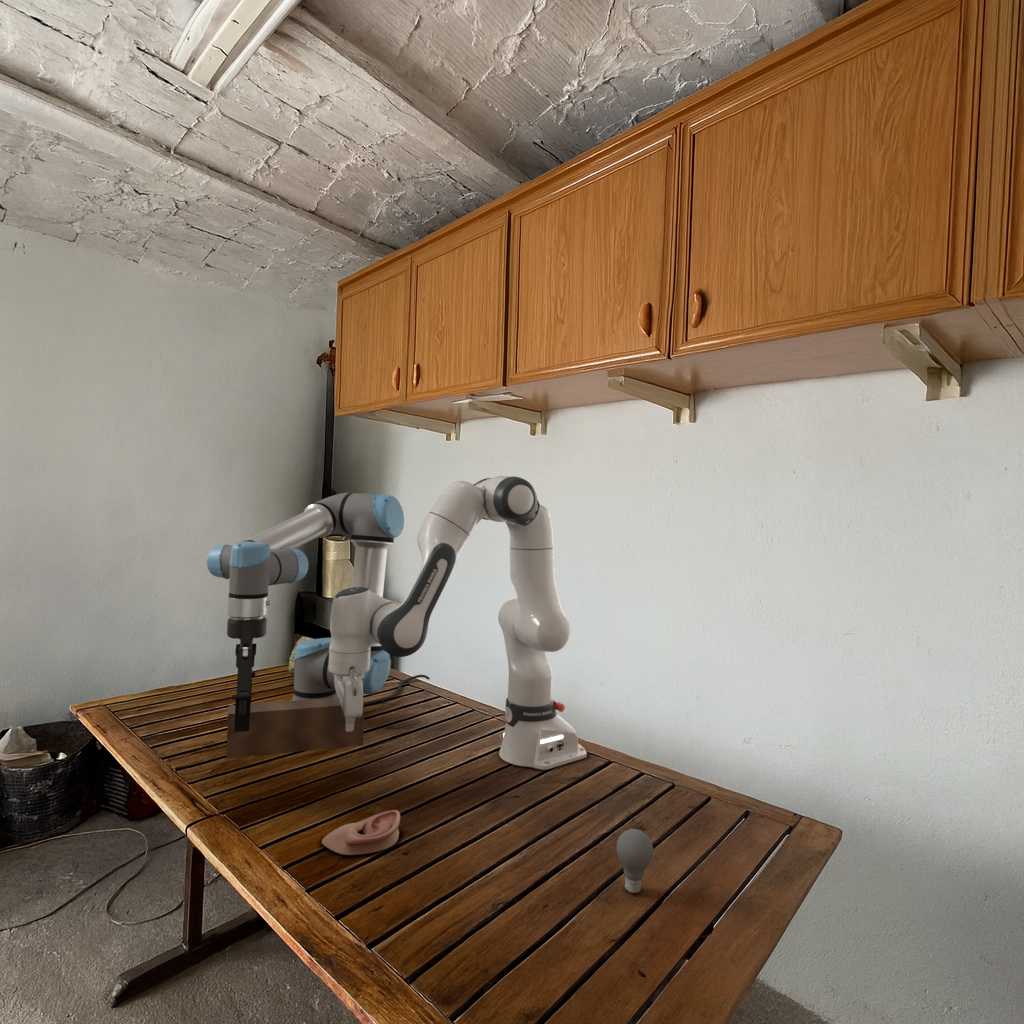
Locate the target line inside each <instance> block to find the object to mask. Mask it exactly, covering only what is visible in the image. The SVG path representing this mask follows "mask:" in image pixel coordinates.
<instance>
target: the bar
mask: <svg viewBox="0 0 1024 1024" xmlns="http://www.w3.org/2000/svg"><path fill="white" fill-rule="evenodd" d="M364 702H365V701H363V713H362V716H361V717H358V718H355V722H354V730H353V731H350V732H347V731H346V730H345V716H344V713H343V710H342V707H341V704H340V701H339V698H324V699H311V700H297V701H292V700H286V701H285V700H283V701H273V702H272V701H271V702H258V703H256V702H255V703H251V704H250V724H249V731H242V732H234V726H235V704H232V705H229V706H228V711H227V731H226V760H229V759H238V758H239V759H240V758H247V757H248V758H249V757H258V756H267V755H268V756H269V755H277V754H287V753H298V752H307V751H316V750H317V751H318V750H327V749H337V748H347V747H348V748H349V747H356V746H363V745H364V729H365V728H364V727H365V725H364V724H365V705H364Z"/></svg>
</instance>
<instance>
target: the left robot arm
mask: <svg viewBox="0 0 1024 1024" xmlns="http://www.w3.org/2000/svg"><path fill="white" fill-rule="evenodd" d="M404 514H405V513H404V510H403V507H402V505H401V503H400V501H399V500H398V499H397V498H396V497H395V496H393V495H390V494H383V493H360V492H357V493H356V492H342V493H338V494H333V495H331V496H328V497H325V498H323V499H320V500H317V501H315V502H313V503H311V504H309V505H307V506H306V507H305V509H304V510H303V512H301V513H299V514H297V515H295V516H293V517H291V518H289V519H286V520H284V521H281V522H280V523H278V524H276V525H274V526H271V527H270V528H268V529H265V530H263V531H261V532H259V533H257V534H255V535H252V536H251V537H248V538H247V539H244V540H242V541H238V542H235V543H234V544H232V545H230V544H218V545H216V546H214V547H212V548H211V550H210V551H209V552H208V555H207V558H206V567H207V569H208V572H209V574H211V576H214V577H216V578H220V579H221V578H222V579H225V580H229V584H228V585H229V586H228V587H229V588H228V596H227V616H228V617H229V618H228V619H227V622H226V623H227V624H226V636H227V637H228V638H230V639H236V640H237V639H238V640H239V643H235V652H234V653H235V655H234V656H235V667H236V669H237V676H236V677H237V678H236V693H235V694H232V696H231V700H232V701H235V704H234V705H235V726H234V732H242V731H249V724H250V704H252V687H253V678H256V672H255V671H254V672H253V668H254V666H255V656H256V655H257V643H254V639H260V638H263V637H265V636H266V635H267V627H268V624H267V623H268V619H267V617H265V616H267V613H268V606H270V605H271V603H272V602H271V600H268V596H269V586H277V585H282V584H292V583H293V584H294V583H295V582H299V581H301V580H303V579H304V578H305V577H306V575H307V573H308V571H309V560H308V557H307V556H306V554H305V553H304V552H303V551H302V550H300V549H298V548H300V547H302V546H303V545H305V544H307V543H309V542H311V541H312V540H314V539H316V538H320V539H321V538H322V539H323V538H326V537H328V536H330V535H335V534H336V535H337V534H339V535H340V534H342V535H350V542H351V543H352V544H353V546H354V547H355V548H354V549H355V551H354V559H353V560H354V561H353V571H352V580H351V582H352V583H351V588H354V587H365V588H368V589H369V590H370V591H371V592H373V593H375V594H376V595H378V596H380V597H383V598H384V590H385V589H384V588H385V579H386V578H385V577H386V567H387V556H388V550H389V549H390V548H391V547H392V546H393V545H394V543H395V539H396V538H398V537H400V536H401V534H402V531H403V530H404V527H405V515H404ZM312 639H313V640H308V641H304V642H301V643H300V644H298V645H297V647H296V652H295V658H294V660H295V665H294V677H293V695H292V696H293V697H292V699H291V701H297V700H311V699H324V698H338V696H337V693H336V690H335V683H334V673H331V672H329V670H328V667H329V646H330V643H331V637H321V638H312ZM391 666H392V659H391V655H390V654H389V653H387V652H386V651H385V650H384V649H383V647H382V646H381V644H379V643H373V644H372V645H371V652H370V670H369V671H367V672H365V673H364V677H363V678H362V683H363V695H373V694H376V693H378V692H379V691H380V690H381V689H382V688H383V687H384V685H385V684H386V682H387V680H388V678H389V676H390V672H391ZM419 678H425V679H426V680H429V681H430V680H431V678H430V676H428V675H426V674H417V675H413V676H411V677H408V678H406V679H403V680H401V681H400V683H399V684H398V687H397V688H396V690H395V692H394V693H393V694H390V695H388V696H384V697H381V698H376V699H372V700H368V701H363V702H364V706H367V705H371V704H376V703H380V702H383V701H387V700H390V699H392V698H395V697H396V696H397V695H398V694H399V692H400V690H401V688H402V686H403V684H405V683H407V682H410V681H412V680H414V679H419Z"/></svg>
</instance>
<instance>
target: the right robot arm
mask: <svg viewBox="0 0 1024 1024" xmlns="http://www.w3.org/2000/svg"><path fill="white" fill-rule="evenodd" d="M482 520H485V521H492V522H497V523H505V524H506V526H507V528H508V531H509V576H510V577H509V578H510V581H511V583H512V586H513V587H514V590H515V592H516V596H517V598H511V599H509V600H507V601H506V602H504V603H503V604H502V605H501V607H500V609H499V612H498V616H497V617H498V618H497V619H498V625H499V626H500V628H501V631H502V635H503V639H504V645H505V652H506V658H507V665H508V666H507V667H508V684H507V688H508V689H507V697H506V699H505V710H504V715H505V716H504V719H505V726H504V731H503V734H502V741H501V745H500V749H499V751H498V756H499V758H500V759H502V760H503V761H504V762H506V763H508V764H511V765H514V766H519V767H526V768H533V769H536V770H539V771H540V770H541V771H547V770H550V769H553V768H557V767H560V766H563V765H566V764H570V763H573V762H576V761H581V760H583V759H586V758H587V757H588V756H587V755H588V754H587V750H586V748H585V747H584V746H582V744H580V743H579V740H578V739H579V738H578V734H577V732H576V729H575V728H574V727H573V726H572V725H571V724H570V723H569V722H567V721H566V720H565V719H564V718H563V717H562V716H560V715H559V714H558V712H560V713H563V712H564V711H565V710H566V709H565V708H566V705H565V704H564V703H561V702H560V701H556V700H554V699H552V696H553V695H552V693H553V673H554V672H553V668H552V666H551V663H550V661H549V659H548V655H547V653H555V652H558V651H561V650H562V649H564V648H565V647H566V645H568V643H569V640H570V638H571V633H572V625H571V623H570V621H569V619H568V617H567V616H566V614H565V612H564V610H563V608H562V603H561V600H560V596H559V592H558V588H557V585H556V584H557V583H556V582H557V581H556V575H555V544H554V542H555V541H554V530H553V522H552V517H551V514H550V511H549V509H548V508H547V507H545V506H544V505H543V504H540V502H539V499H538V495H537V493H536V490H535V488H534V487H533V485H532V484H531V483H530V482H529V481H528V480H526V479H525V478H522V477H520V476H508V475H497V476H495V477H485V478H483V479H480V480H479V481H476V482H475V483H473V484H472V483H471V482H469V481H464V480H457V481H454V482H452V483H451V484H450V485H449V486H448V487H447V488H445V490H444V491H443V492H442V493H441V495H440V496H439V497H438V498H437V500H436V501H435V503H434V504H433V505H432V507H431V509H430V510H429V511H428V513H427V515H426V516H425V518H424V520H423V521H422V524H421V525H420V529H419V531H418V533H417V537H416V540H417V542H416V543H417V546H418V549H419V552H420V555H421V565H420V569H419V572H418V574H417V576H416V578H415V579H414V582H412V583H413V584H412V585H411V587H410V589H409V591H408V593H407V595H406V596H405V599H404V600H403V602H402V603H400V602H397V601H394V600H390V599H387V598H385V597H384V596H383V597H380V596H378V595H376V594H375V593H373V592H371V591H370V590H369V589H368V588H365V587H354V588H352V587H348V588H345V589H342V590H341V591H338V592H337V593H336V594H335V595H334V597H333V599H332V604H331V610H330V618H329V619H330V621H329V632H330V638H331V643H330V646H329V667H328V670H329V672H331V673H334V683H335V690H336V693H337V696H338V698H339V701H340V704H341V707H342V710H343V713H344V716H345V730H346V731H347V732H350V731H353V730H354V722H355V718H358V717H361V716H362V713H363V702H364V694H363V683H362V678H363V677H364V673H365V672H367V671H369V670H370V652H371V645H372V644H373V643H379V644H381V646H382V647H383V649H384V650H383V651H386V652H387V653H388V654H389V655H390V656H392V657H396V658H405V657H408V656H412V655H413V654H415V653H416V652H417V651H418V650H420V649H421V648H422V647H423V645H424V644H425V641H426V638H427V635H428V630H429V623H430V618H431V615H432V614H433V611H434V609H435V607H436V605H437V603H438V601H439V599H440V597H441V595H442V593H443V591H444V589H445V587H446V585H447V583H448V580H449V578H450V576H451V574H452V572H453V569H454V567H455V564H456V563H457V560H458V558H459V556H460V554H461V552H462V551H463V549H464V547H465V545H466V543H467V541H468V540H469V538H470V536H471V535H472V534H473V533H472V532H473V531H474V529H475V527H476V526H477V524H479V522H480V521H482ZM557 711H558V712H557Z"/></svg>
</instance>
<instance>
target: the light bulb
mask: <svg viewBox="0 0 1024 1024" xmlns="http://www.w3.org/2000/svg"><path fill="white" fill-rule="evenodd" d="M615 849H616V854H617V857H618V859H619V861H620V863H621V865H622V867H623V873H624V874H623V875H624V876H625V878H624V888H625V890H627V891H628V892H630V893H634V894H635V893H639V892H640V891H641V889H642V887H641V886H642V879H643V877H644V875H645V871H646V868H647V867H648V866H649V864H650V863H651V861H652V859H653V855H654V847H653V843H652V841H651V838H649V836H648V835H647V834H646V833H645V832H643V831H642V830H641V829H636V828H629V829H627V830H625V831H623V832H622V833H621V834H620V835H619V837H618V839H617V841H616V847H615Z"/></svg>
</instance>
